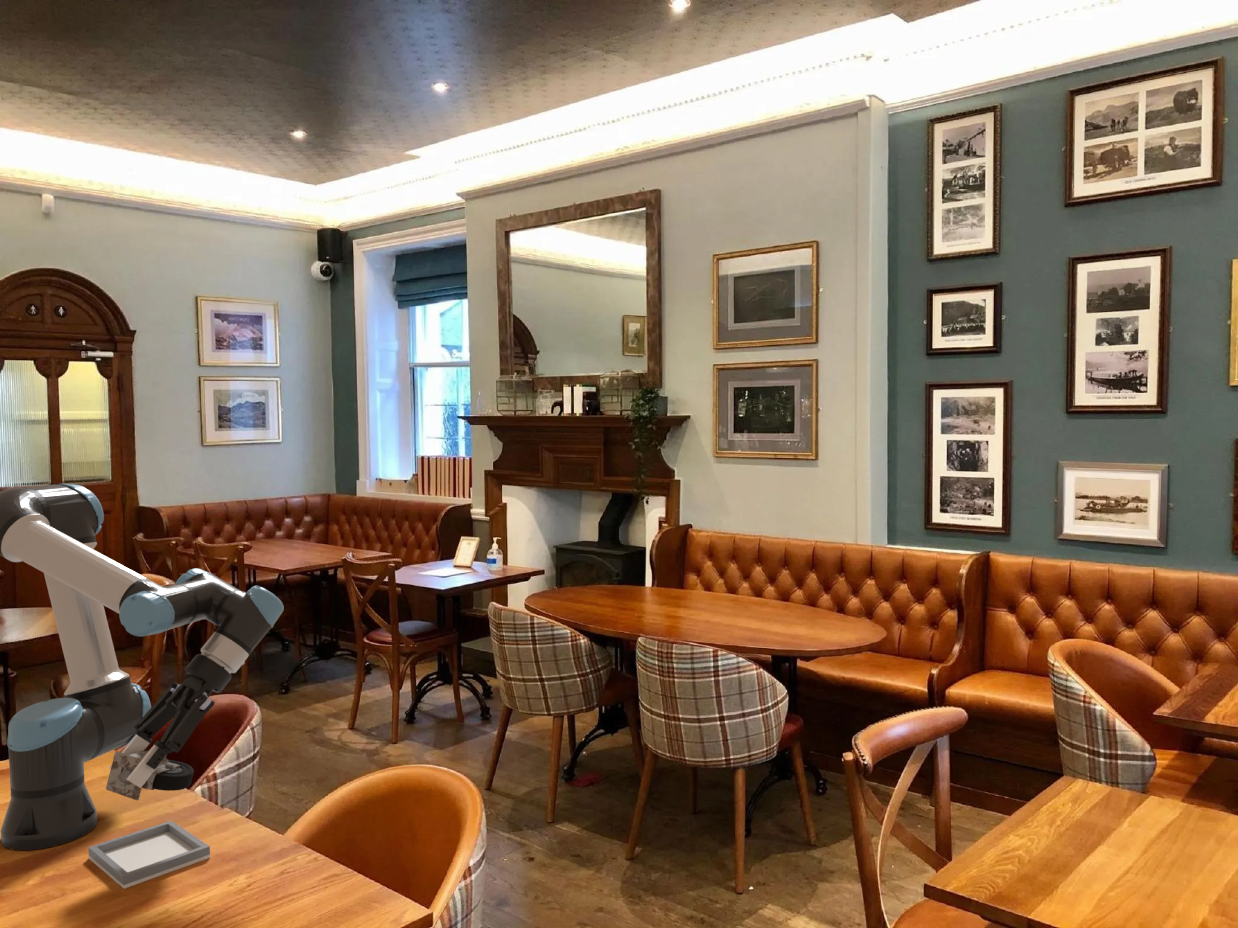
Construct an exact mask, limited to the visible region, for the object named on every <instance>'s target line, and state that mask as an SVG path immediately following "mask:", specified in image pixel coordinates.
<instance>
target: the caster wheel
mask: <svg viewBox="0 0 1238 928" xmlns="http://www.w3.org/2000/svg"><path fill="white" fill-rule="evenodd" d="M149 750H150V749H148V750H147V749H145V750H144V751H141V752H137V753H134V754H131V755H127V754H124V753H122V751H121V752H120V751H118V750H117V751H115V752H114V756H113V759H112V762H111V765H112V766H111V765H110V766H111V769H110V770H109V774H108V779H107V782H106V787H105V789H106V791H109V792H112V793H115V794H117V795H121V796H123V797H127V798H128V799H132V800H135V801H139V800H140V797H141V796H140V795H141V793H142V789H144V790H150V791H154V790H156V791H157V790H158V791H166V792H171V791H173V792H174V791H175V792H176V791H181V790H184V789H187V788H189V787H190V786H191V785H192V780H193V778H194V777H193V776H194V773H195V770H194V768H193V767H192V766H191V765H190V764H187V763H185V762H182V761H178V760H174V759H173V760H171V759H168V758H167V756H166V757H165V758H164V759H163V761H162V762H161V763H160V764H159V766H158V767H157V768H156V769H155V771H154V772H153V773H152V774H151V776H150V777H149V778H148V780H147V781H146V782H145V783H144V785H143V786H142V787H141V788H140V787H138V786H136V785H135V784H133V783H132V782H130V781H128V780H127V778H128V777H129V775H130V774H131V773H132V772H133V770H134V769H135V768H136V767H137V765H138V764H139V763H140V762H141V760H142V759H143V758H144V757H145V755H146V754H147V753H148V752H149Z"/></svg>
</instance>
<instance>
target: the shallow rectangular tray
mask: <svg viewBox="0 0 1238 928" xmlns="http://www.w3.org/2000/svg"><path fill="white" fill-rule="evenodd" d="M87 848H88V851H87V852H88V859H89V860H90V861H91V862H92V863H93V864H94V865H96V866H97V867H98V868H99V869H100V870H101V871H103V872H104V873H105V874H106V875H107V876H108V877H109V878H110V879H112V880H113V881H114V882H115V883H116V884H118V885H119V886H120V887H121V888H122V889H127V888H131V887H133V886H136V885H138V884H142V883H143V882H147V881H149V880H152V879H154V878H157V877H161V876H164V875H165V874H169V873H172V872H174V871H177V870H180V869H182V868H185V867H188V866H191V865H193V864H196V863H199V862H202V861H205V860H207V859H208V860H209V859H210V858H211V847H210V845H209V844H207V843H205V842H204V841H202V840H201V839H200V838H198V837H196V836H195V835H193V834H192V833H191V832H189V831H188V830H186V829H185V828H183V827H182V826H181V825H178V823H176V822H174V821H173V820H168V821H166V822H163V823H159V824H156V825H153V826H150V827H147V828H144V829H141V830H137V831H134V832H132V833H128V834H125V835H122V836H119V837H118V836H117V837H116V838H113V839H109V840H106V841H103V842H100V843H97V844H94V845H93V844H92V845H90V846H88V847H87Z"/></svg>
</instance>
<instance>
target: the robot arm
mask: <svg viewBox="0 0 1238 928" xmlns="http://www.w3.org/2000/svg"><path fill="white" fill-rule="evenodd" d="M104 518H105V515H104V510H103V506H102V504H101V502H100V500H99V499H98V497H97V496H96V495H95V493H94V492H92V491H91V490H90V489H87V488H86V486H83V485H79V484H73V483H71V484H69V483H68V484H66V483H57V484H54V483H53V484H46V485H36V486H28V487H11V488H7V489H3V490H1V491H0V557H2V558H4V559H6V560H7V561H9V562H12V563H21V562H22V563H23V562H24V563H25V564H27V565H28V566H31V567H33V568H35V569H36V570H38V571H40V572H42V573H43V575H44V576H43V577H44V579H45V584H46V587H47V591H48V596H49V599H50V604H51V607H52V612H53V615H54V616H53V617H54V621H55V625H56V628H57V633H58V636H59V640H60V644H61V648H62V653H63V656H64V661H65V665H66V669H67V672H68V677H69V681H70V683H69V685H68V687H67V688H66V689H65V691H64V693H63V696H64V697H58V698H52V699H51V698H50V699H49V700H47V701H39V702H37V703H34V704H31V705H29V706H26V707H24V708H23V709H21V710H19V711H18V712H16V713H15V714H14V715H13V717H11V719H10V720H9V721H8V726H7V727H8V728H7V729H8V734H7V738H6V745H7V747H8V749H7V750H8V765H9V782H10V783H9V785H10V800H9V803H8V807H7V809H6V811H5V815H4V816H5V817H4V819H3V822H2V825H1V829H0V842H1V845H2V846H3V847H5V848H6V849H9V850H16V851H28V850H29V851H33V850H40V849H45V848H50V847H55V846H60V845H62V844H65V843H69V842H71V841H74V840H76V839H78V838H80V837H83V836H84V835H87V834H88V833H90V832H91V831H93V830H94V829H95V828H96V826H97V824H98V815H97V808H96V806H95V803H94V802H93V800H92V797H91V796H90V793H89V790H88V789H87V786H86V783H85V782H86V781H85V763H87V762H89V761H92V760H95V759H96V758H98V757H101V756H103V755H105V754H107V753H110V752H112V751H114V750H118V749H122V748H124V747H125V748H124V749H123V750H122V751H121V753H124V754H127V755H131V754H134V753H137V752H141V751H145V750H147V748H148V746H149V745H150V744H151V743H153V739H152V738H153V737H154V736H155V735H156V734H157V733H158V732H159V731H160V730H161V729H162V728H164V727H165V726H166V725H167V724H168V723H169V722H170V723H169V724H168V726H167V728H166V730H165V731H164V733H163V735H162V737H161V739H160V740H157V741H156V740H155V741H154V744H153V746H152V747H151V748H150V749H148V750H149V752H148V753H147V754H146V755H145V757H144V758H143V759H142V760H141V762H140V763H139V764H138V765H137V767H136V768H135V769H134V770H133V772H132V773H131V774H130V775H129V777H128V778H127V780H128V781H130V782H132V783H133V784H135V785H136V786H138V787H140V788H141V787H142V786H143V785H144V783H145V782H146V781H147V780H148V778H149V777H150V776H151V774H152V773H153V772H154V771H155V769H156V768H157V767H158V766H159V764H160V763H161V762H162V761H163V759H164V758H165V757H166V758H167V756H168V754H172V753H173V752H175V753H179V752H180V751H181V749H182V748H183V747H184V745H185V744H186V743H187V741H188V739H189V738H190V737H191V736H192V734H193V732H195V729H196V728H197V727H198V725H200V723H201V721H202V720H203V718H204V717H205V716H206V714H207V713H208V712H209V711H210V710H211V709H212V708H213V707H214V705H215V703H216V702H215V701H214V700H212V699H211V698H210V695H211V694H212V693H213V692H214V693H216V694H217V693H221V692H222V691H224V689H225V687H226V686H227V685H228V683H229V682H230V681H231V680H232V674H236V673H237V671H239V669H240V668H241V666H244V665H245V664H246V662H245V661H246V660H247V659H248V657H249V656H250V655H251V654H252V652H253V651H254V650H255V648H256V647H257V646H258V645H259V644H260V643H261V641H262V640H263V638H265V636H266V635H267V634H268V632H269V631H270V630H271V629H272V628H274V625H275V624H276V622H277V621H278V619H279V618H280V616H282V613H283V612H284V608H285V607H284V604H283V602H282V600H281V599H280V598H279V597H278V596H276V594H275V593H273V592H271V591H269V590H268V589H266V588H265V587H262V586H260V585H254V586H252V587H251V588H250V589H248V590H247V591H246V592H245V591H244V590H241V589H239V588H237V587H235V586H233V585H232V584H230V583H229V582H227V581H224V580H223V579H222V578H220V577H218V576H216V575H215V574H213V573H211V572H209V571H206V570H203V569H202V568H197V567H196V568H192V569H191V568H190V569H189V570H187V571H186V572H185V573H183V574H181V575H180V577H179V578H178V579H177V580H176V581H175V584H171V585H167V586H164V585H161V584H159V583H157V582H155V581H153V580H151V579H149V578H148V577H146V576H143V575H141V574H140V573H138V572H136V571H134V570H133V569H130V568H128V567H126V565H125V566H124V565H123V564H121V563H119V562H117V561H116V560H114V559H112V558H110V557H109V556H107V555H104V554H102V553H101V552H99V551H97V550H95V548H96V546H97V545H98V541H97V538H96V535H98V533H99V532H100V531H101V529H102V527H103V526H102V524H103V523H104ZM105 607H106V608H108V609H110V610H112V611H113V612H115V613H116V614H118V615H119V616H118V617H119V620H120V625H122V626H123V627H124V628H125V631H126V632H127V633H129V634H130V635H133V636H134V637H147V636H151V635H153V636H154V635H159V634H161V633H164V632H166V631H169V630H172V629H175V628H179V627H182V626H185V625H189V624H192V623H195V622H200V621H201V620H207V621H208V622H210V623H212V624H213V625H216V626H217V629H216V630H215V631H213V633H212V634H211V636H210V637H209V638H208V639H207V641H206V642H205V643H204V645H202V647H201V648H200V652H201V653H198V654H195V656H194V657H193V658H192V660H191V661H190V662H189V663H188V665H187V666H186V667H185V669H184V671H185V673H186V674H187V675H188V677H187V678H186V679H185V680H183V682H181V683H180V684H178V683H177V682H175V681H173V682H171V683H170V684H169V686H168V687H167V689H166V690H165V691H164V693H162V695H161V696H160V697H159V698H158V700H157V701H156V702H155V703H154V704H153V705H152V704H151V701H150V697H149V695H148V693H147V692H146V691H145V690H144V689H143V688H142V687H141V686H140V685H139V684H136V683H132V681H131V676H130V674H129V673H127V672H125V671H123V670H122V669H120V667H119V663H118V659H117V656H116V655H117V654H116V651H115V647H114V642H113V639H112V634H111V630H110V628H109V622H108V619H107V615H106V611H105ZM111 766H112V764H111V765H110V766H109V767H108V768H109V769H110V770H111Z"/></svg>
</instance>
